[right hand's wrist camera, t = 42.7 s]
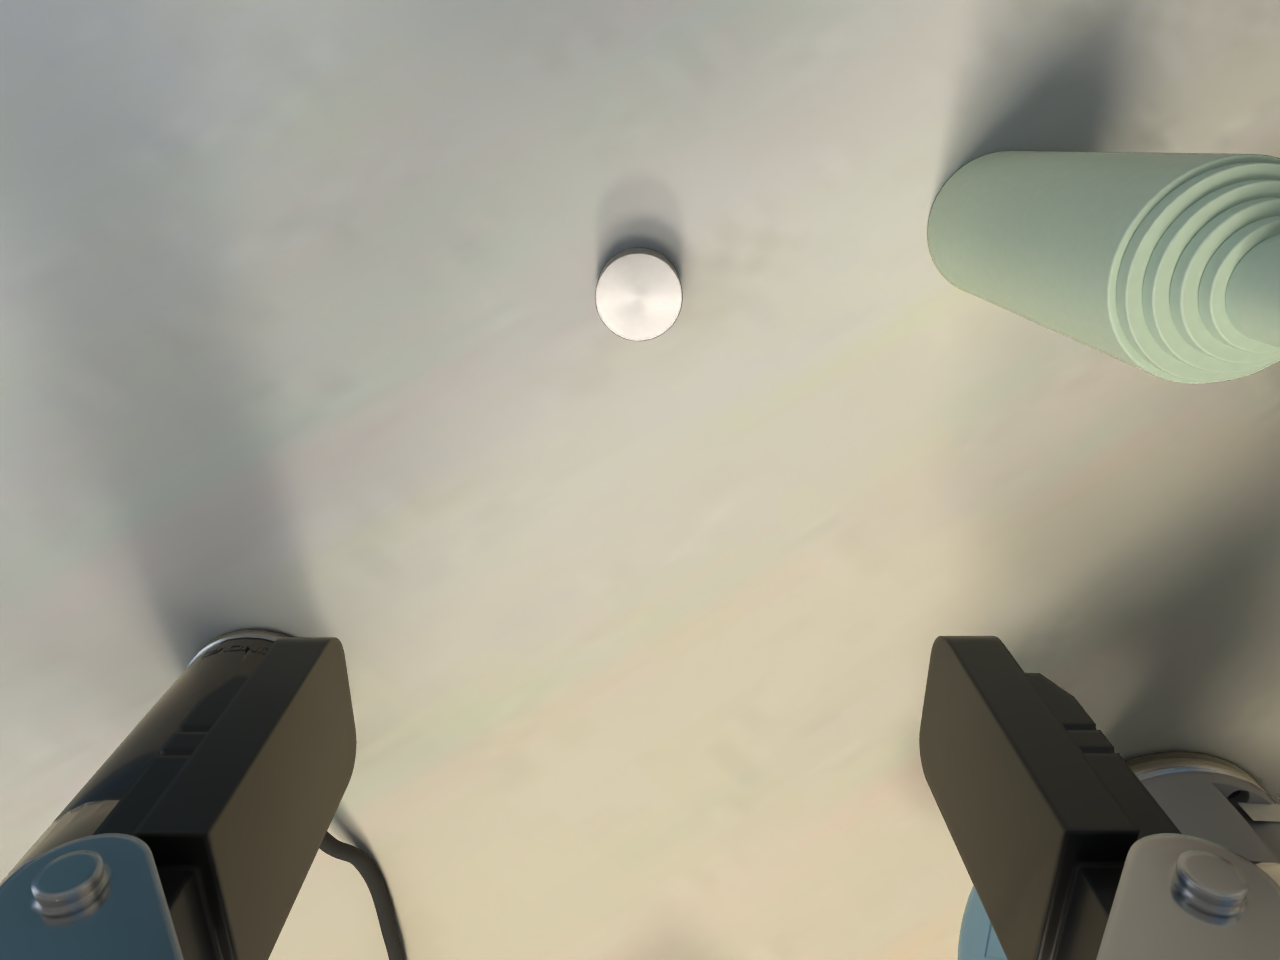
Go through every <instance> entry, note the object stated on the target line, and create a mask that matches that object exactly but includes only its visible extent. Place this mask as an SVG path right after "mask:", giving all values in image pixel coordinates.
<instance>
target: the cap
mask: <svg viewBox="0 0 1280 960" xmlns="http://www.w3.org/2000/svg"><path fill="white" fill-rule="evenodd" d="M682 297H683V296H682V288H681V284H680V280H679V277H678V274H677V272H676V270H675V268H674V267H673V265H672V264H671V263H670V261H669V260H668V259H667V258H665V257H664V256H663V255H661V254H660V253H658V252H656V251H654V250H651V249H647V248H631V249H627V250H624V251H621V252H620V253H618V254H616V255H615V256H613V257H612V258H611V259H610V260H609V261H608V262H607V263H606V265H605V266H604V268H603V269H602V271H601V274H600V276H599V279H598V283H597V286H596V292H595V302H596V308H597V311H598V314H599V316H600V318H601V320H602V321H603V323H604V324H605V325H606V326H607V328H608V329H609V330H611V331H612V332H613V333H615V334H616V335H618V336H620V337H622V338H624V339H628V340H633V341H646V340H650V339H653V338H656V337H658V336H660V335H662V334H663V333H665V332H666V331H667V330H668V329H669V328H670V327H671V326H672V325H673V324H674V322H675V321H676V319H677V317H678V315H679V313H680V310H681V306H682Z"/></svg>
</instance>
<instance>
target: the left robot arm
mask: <svg viewBox="0 0 1280 960" xmlns="http://www.w3.org/2000/svg"><path fill="white" fill-rule="evenodd" d="M1125 762H1126V764H1127V765H1128V766H1129V767H1130V769H1131V770H1132V771H1133V772H1134V774H1135V775H1136V776H1137V778H1138V779H1139V780H1140V781H1141V783H1142V784H1143V785H1144V786H1145V788H1146V789H1147V790H1148V791H1149V793H1150V794H1151V795H1152V797H1153V798H1154V799H1155V800H1156V802H1157V803H1158V804H1159V805H1160V807H1161V808H1162V809H1163V810H1164V812H1165V813H1166V814H1167V816H1168V817H1169V818H1170V819H1171V821H1172V822H1173V823H1174V824H1175V826H1176V827H1177V828H1178V830H1179V831H1180V832H1181V833H1182V834H1183V835H1189V836H1193V837H1197V838H1201V839H1205V840H1207V841H1210V842H1213V843H1216V844H1218V845H1221V846H1223V847H1225V848H1228V849H1230V850H1232V851H1234V852H1235V853H1237V854H1239V855H1241V856H1243V857H1244V858H1246V859H1247V860H1249V861H1251V862H1252V863H1254V864H1255V865H1257V866H1258V867H1259V868H1260V869H1262V870H1263V871H1264V872H1265V873H1267V874H1268V875H1269V876H1270V877H1271V878H1272V879H1273V880H1274V881H1275V882H1276V883H1277V884H1278V885H1279V886H1280V804H1276V802H1275V801H1274V800H1273V799H1272V798H1271V797H1270V796H1269V795H1268V794H1267V793H1266V792H1265V791H1264V790H1263V789H1262V788H1261V786H1260V785H1259V784H1258V783H1257V782H1256V781H1255V780H1254V779H1253V778H1252V777H1251V776H1250V775H1248V774H1247V773H1246V772H1245V771H1243V770H1242V769H1240V768H1239V767H1237V766H1235V765H1234V764H1232V763H1229V762H1227V761H1225V760H1222V759H1219V758H1216V757H1213V756H1209V755H1204V754H1198V753H1190V752H1167V753H1158V754H1152V755H1146V756H1142V757H1138V758H1134V759H1131V760H1128V761H1125ZM958 960H1007V957H1006V955H1005V953H1004V951H1003V948H1002V946H1001V944H1000V942H999V940H998V937H997V935H996V933H995V931H994V929H993V926H992V924H991V922H990V920H989V918H988V915H987V913H986V911H985V909H984V906H983V904H982V902H981V900H980V898H979V895H978V893H977V891H976V889H975V887H974V886H973V888H972V890H971V893H970V895H969V898H968V901H967V904H966V908H965V912H964V915H963V920H962V924H961V930H960V937H959V946H958Z"/></svg>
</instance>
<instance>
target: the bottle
mask: <svg viewBox="0 0 1280 960" xmlns="http://www.w3.org/2000/svg"><path fill="white" fill-rule="evenodd" d="M927 235H928V246H929V251H930V254H931V257H932V260H933V262H934V264H935V266H936V268H937V269H938V270H939V272H940V273H941V275H942V276H943V277H944V278H945V279H946V280H947V281H949V282H950V283H951V284H953V285H954V286H956V287H957V288H959V289H961V290H963V291H965V292H968V293H970V294H972V295H974V296H977V297H979V298H981V299H983V300H986V301H988V302H990V303H992V304H995V305H997V306H999V307H1001V308H1004V309H1006V310H1008V311H1010V312H1013V313H1015V314H1017V315H1019V316H1022V317H1024V318H1026V319H1028V320H1031V321H1033V322H1035V323H1037V324H1040V325H1042V326H1044V327H1046V328H1049V329H1051V330H1053V331H1055V332H1058V333H1060V334H1062V335H1064V336H1067V337H1069V338H1071V339H1073V340H1075V341H1078V342H1080V343H1082V344H1084V345H1087V346H1089V347H1091V348H1093V349H1096V350H1098V351H1100V352H1102V353H1105V354H1107V355H1109V356H1111V357H1114V358H1116V359H1118V360H1120V361H1123V362H1125V363H1127V364H1129V365H1132V366H1134V367H1136V368H1138V369H1141V370H1143V371H1145V372H1147V373H1150V374H1152V375H1154V376H1157V377H1159V378H1162V379H1165V380H1168V381H1173V382H1178V383H1187V384H1202V383H1212V382H1222V381H1228V380H1233V379H1238V378H1241V377H1245V376H1248V375H1251V374H1253V373H1256V372H1258V371H1260V370H1263V369H1265V368H1267V367H1269V366H1270V365H1272V364H1274V363H1276V362H1278V361H1279V360H1280V158H1276V157H1272V156H1268V155H1258V154H1213V153H1131V152H1048V151H1000V152H995V153H990V154H987V155H984V156H981V157H979V158H976V159H974V160H972V161H971V162H969V163H967V164H966V165H964V166H963V167H962V168H960V169H959V170H958V171H957V172H955V173H954V175H953V176H952V177H951V178H950V179H949V180H948V181H947V182H946V183H945V185H944V186H943V187H942V189H941V191H940V192H939V194H938V196H937V197H936V200H935V202H934V204H933V207H932V210H931V213H930V217H929V222H928V232H927Z"/></svg>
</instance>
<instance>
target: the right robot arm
mask: <svg viewBox="0 0 1280 960" xmlns="http://www.w3.org/2000/svg"><path fill="white" fill-rule="evenodd" d="M919 741H920V756H921V762H922V767H923V771H924V775H925V778H926V780H927V783H928V785H929V787H930V789H931V791H932V794H933V796H934V798H935V800H936V802H937V805H938V807H939V809H940V811H941V814H942V816H943V818H944V820H945V822H946V825H947V827H948V829H949V831H950V833H951V836H952V838H953V840H954V842H955V845H956V847H957V849H958V851H959V853H960V856H961V858H962V860H963V862H964V864H965V867H966V869H967V871H968V873H969V875H970V878H971V880H972V882H973V884H974V887H975V889H976V891H977V893H978V895H979V898H980V900H981V902H982V904H983V906H984V909H985V911H986V913H987V915H988V918H989V920H990V922H991V924H992V926H993V929H994V931H995V933H996V935H997V937H998V940H999V942H1000V944H1001V946H1002V948H1003V951H1004V953H1005V955H1006V957H1007V960H1280V886H1279V885H1278V884H1277V883H1276V882H1275V881H1274V880H1273V879H1272V878H1271V877H1270V876H1269V875H1268V874H1267V873H1265V872H1264V871H1263V870H1262V869H1260V868H1259V867H1258V866H1257V865H1255V864H1254V863H1252V862H1251V861H1249V860H1247V859H1246V858H1244V857H1243V856H1241V855H1239V854H1237V853H1235V852H1234V851H1232V850H1230V849H1228V848H1225V847H1223V846H1221V845H1218V844H1216V843H1213V842H1210V841H1207V840H1205V839H1201V838H1197V837H1193V836H1189V835H1183V834H1182V833H1181V832H1180V831H1179V830H1178V828H1177V827H1176V826H1175V824H1174V823H1173V822H1172V821H1171V819H1170V818H1169V817H1168V816H1167V814H1166V813H1165V812H1164V810H1163V809H1162V808H1161V807H1160V805H1159V804H1158V803H1157V802H1156V800H1155V799H1154V798H1153V797H1152V795H1151V794H1150V793H1149V791H1148V790H1147V789H1146V788H1145V786H1144V785H1143V784H1142V783H1141V781H1140V780H1139V779H1138V778H1137V776H1136V775H1135V774H1134V772H1133V771H1132V770H1131V769H1130V767H1129V766H1128V765H1127V764H1126V762H1125V761H1124V760H1123V758H1122V757H1121V756H1120V755H1119V753H1114V747H1113V746H1112V745H1111V743H1110V742H1109V741H1108V739H1107V738H1106V737H1105V736H1104V734H1103V733H1102V732H1101V731H1100V730H1096V724H1095V723H1094V722H1093V720H1092V719H1091V718H1090V717H1089V715H1088V714H1087V713H1086V712H1085V710H1084V709H1083V708H1082V706H1081V705H1080V704H1079V703H1078V701H1077V700H1076V699H1075V698H1074V697H1073V696H1072V695H1070V694H1069V693H1067V692H1066V691H1065V690H1063V689H1062V688H1060V687H1059V686H1057V685H1056V684H1054V683H1053V682H1051V681H1050V680H1049V679H1047V678H1046V677H1044V676H1043V675H1041V674H1040V673H1024V671H1023V670H1022V669H1021V667H1020V666H1019V664H1018V663H1017V662H1016V660H1015V659H1014V658H1013V656H1012V655H1011V654H1010V652H1009V651H1008V649H1007V648H1006V647H1005V645H1004V644H1003V643H1002V641H1001V640H1000V639H999V638H997V637H995V636H939V637H937V638H936V640H935V641H934V644H933V647H932V651H931V657H930V664H929V671H928V678H927V685H926V692H925V699H924V706H923V713H922V720H921V726H920V739H919ZM355 755H356V730H355V723H354V716H353V709H352V702H351V696H350V689H349V682H348V675H347V668H346V661H345V655H344V650H343V646H342V644H341V642H340V641H339V639H337V638H291V637H288V636H285V635H283V634H279V633H276V632H271V631H265V630H240V631H235V632H231V633H227V634H224V635H222V636H220V637H217V638H215V639H214V640H212V641H210V642H209V643H208V644H206V645H205V646H204V647H203V648H202V649H201V650H200V651H199V652H198V653H197V655H196V656H195V657H194V658H193V659H192V661H191V662H190V663H189V665H188V667H187V669H186V670H185V671H184V672H183V673H182V675H181V676H180V677H179V678H178V679H177V680H176V681H175V683H174V684H173V685H172V686H171V687H170V688H169V689H168V690H167V691H166V692H165V694H164V695H163V696H162V697H161V698H160V699H159V701H158V702H157V703H156V704H155V705H154V706H153V707H152V709H151V710H150V711H149V712H148V713H147V714H146V716H145V717H144V718H143V719H142V720H141V721H140V722H139V724H138V725H137V726H136V727H135V728H134V729H133V731H132V732H131V733H130V734H129V735H128V736H127V737H126V739H125V740H124V741H123V742H122V743H121V744H120V746H119V747H118V748H117V749H116V750H115V751H114V752H113V754H112V755H111V756H110V757H109V758H108V759H107V760H106V762H105V763H104V764H103V765H102V766H101V767H100V769H99V770H98V771H97V772H96V773H95V774H94V775H93V777H92V778H91V779H90V780H89V781H88V782H87V784H86V785H85V786H84V787H83V788H82V789H81V790H80V792H79V793H78V794H77V795H76V796H75V797H74V799H73V800H72V801H71V802H70V803H69V804H68V805H67V807H66V808H65V809H64V810H63V811H62V812H61V814H60V815H59V816H58V817H57V818H56V819H55V821H54V822H53V823H52V824H51V825H50V827H49V828H48V829H47V830H46V831H45V832H44V834H43V835H42V836H41V837H40V838H39V839H38V840H37V842H36V843H35V844H34V845H33V846H32V847H31V848H30V850H29V851H28V852H27V853H26V854H25V855H24V857H23V858H22V859H21V860H20V861H19V862H18V863H17V865H16V866H15V867H14V868H13V869H12V870H11V872H10V873H9V874H8V875H7V876H6V877H5V878H4V879H3V881H2V882H1V883H0V960H268V958H269V956H270V954H271V952H272V950H273V948H274V945H275V943H276V941H277V939H278V937H279V934H280V932H281V930H282V928H283V926H284V923H285V921H286V919H287V917H288V915H289V913H290V910H291V908H292V906H293V904H294V902H295V899H296V897H297V895H298V893H299V891H300V889H301V886H302V884H303V882H304V880H305V878H306V875H307V873H308V871H309V869H310V867H311V864H312V862H313V860H314V858H315V856H316V854H317V851H318V849H319V848H320V849H321V850H322V851H324V852H325V853H327V854H329V855H331V856H333V857H335V858H338V859H341V860H344V861H347V862H350V863H351V864H353V865H354V866H355V867H356V869H357V870H358V871H359V872H360V874H361V875H362V877H363V878H364V880H365V882H366V884H367V886H368V888H369V890H370V893H371V895H372V898H373V901H374V904H375V908H376V911H377V915H378V919H379V923H380V927H381V931H382V935H383V938H384V942H385V945H386V949H387V952H388V956H389V960H404V955H403V950H402V946H401V942H400V938H399V935H398V931H397V928H396V924H395V920H394V916H393V912H392V908H391V904H390V900H389V896H388V893H387V890H386V887H385V884H384V881H383V879H382V877H381V875H380V873H379V871H378V869H377V868H376V866H375V865H374V863H373V862H372V860H371V859H370V858H369V856H368V855H367V854H366V853H365V852H363V851H362V850H360V849H359V848H357V847H354V846H352V845H349V844H346V843H343V842H340V841H338V840H337V839H335V838H334V837H333V836H332V835H331V834H329V833H328V832H327V829H328V827H329V825H330V823H331V821H332V819H333V816H334V814H335V812H336V810H337V808H338V805H339V803H340V801H341V799H342V797H343V795H344V792H345V790H346V788H347V786H348V784H349V781H350V779H351V775H352V772H353V768H354V762H355Z"/></svg>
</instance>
